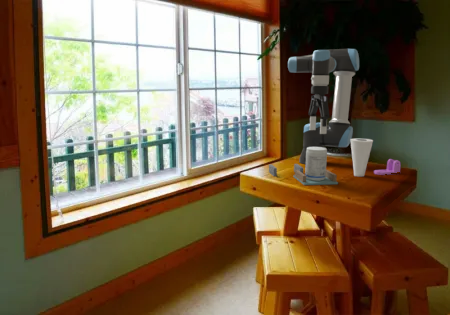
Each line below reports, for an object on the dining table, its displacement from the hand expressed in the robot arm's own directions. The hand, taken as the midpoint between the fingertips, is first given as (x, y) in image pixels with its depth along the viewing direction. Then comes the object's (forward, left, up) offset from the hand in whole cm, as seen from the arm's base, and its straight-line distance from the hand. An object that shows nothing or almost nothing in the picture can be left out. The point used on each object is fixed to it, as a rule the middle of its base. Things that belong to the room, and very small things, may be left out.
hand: (317, 131), depth 181 cm
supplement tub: (0, 0, -23) cm, 23 cm away
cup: (-26, -8, -23) cm, 36 cm away
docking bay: (0, 0, -23) cm, 23 cm away
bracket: (-42, -12, -24) cm, 50 cm away
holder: (+10, -15, -23) cm, 29 cm away
